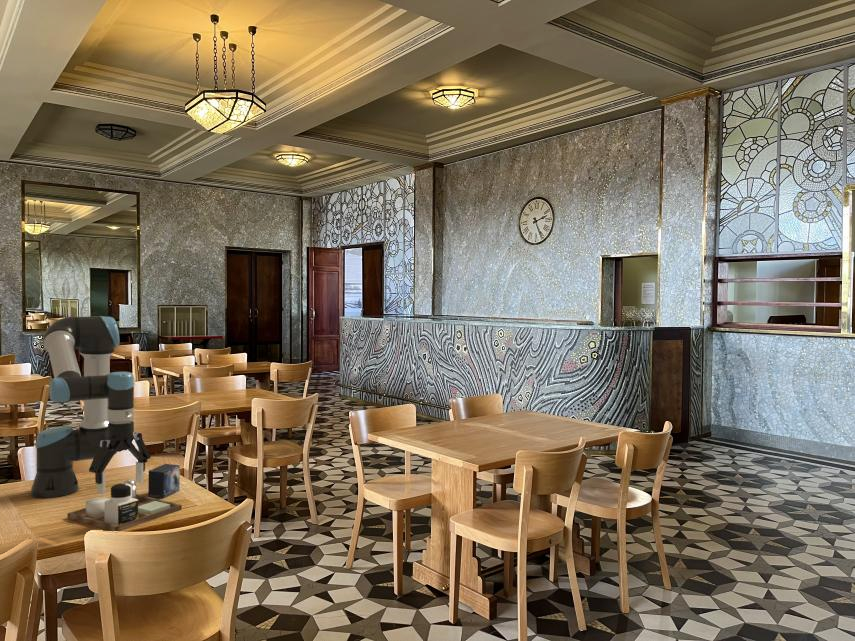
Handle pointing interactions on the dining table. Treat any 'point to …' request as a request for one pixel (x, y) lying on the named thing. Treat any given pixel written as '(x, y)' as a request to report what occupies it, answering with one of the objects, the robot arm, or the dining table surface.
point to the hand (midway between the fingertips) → (121, 487)
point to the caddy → (142, 518)
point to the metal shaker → (132, 487)
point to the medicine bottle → (121, 505)
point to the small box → (164, 481)
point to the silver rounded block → (95, 507)
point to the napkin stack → (153, 507)
